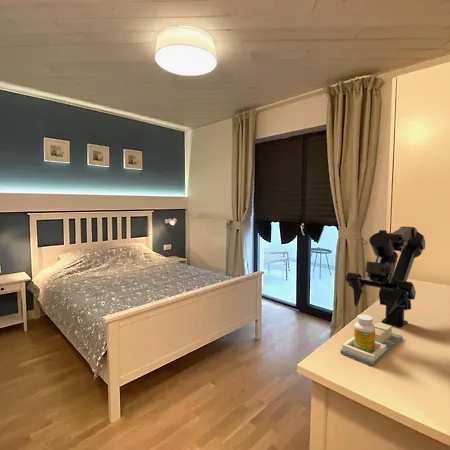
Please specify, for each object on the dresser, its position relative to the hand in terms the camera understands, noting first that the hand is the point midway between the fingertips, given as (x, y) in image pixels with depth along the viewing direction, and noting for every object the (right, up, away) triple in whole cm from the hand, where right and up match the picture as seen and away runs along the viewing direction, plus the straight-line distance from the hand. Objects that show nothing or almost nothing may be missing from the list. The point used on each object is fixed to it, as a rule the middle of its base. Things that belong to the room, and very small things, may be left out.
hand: (371, 309), depth 85 cm
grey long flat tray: (+1, -11, +1) cm, 12 cm away
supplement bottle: (-3, -11, -2) cm, 12 cm away
